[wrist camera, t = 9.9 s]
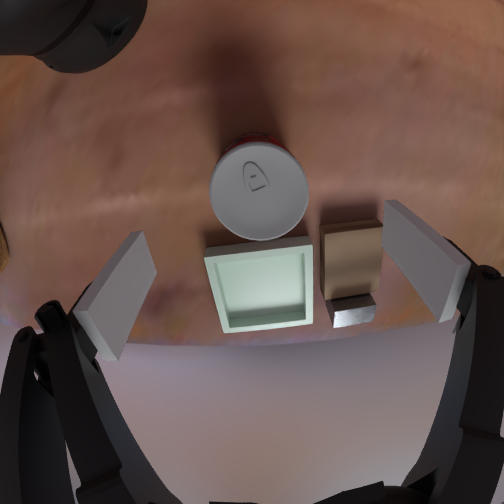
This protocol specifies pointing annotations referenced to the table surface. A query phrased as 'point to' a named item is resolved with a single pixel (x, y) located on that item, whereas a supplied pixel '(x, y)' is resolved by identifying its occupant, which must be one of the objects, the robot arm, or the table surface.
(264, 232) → the canned food
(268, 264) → the tray
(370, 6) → the table surface
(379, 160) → the table surface
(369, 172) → the table surface
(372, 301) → the bench dog
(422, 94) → the table surface
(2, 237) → the bread
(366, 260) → the tan block
